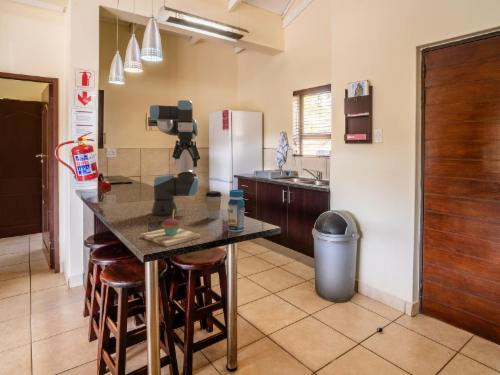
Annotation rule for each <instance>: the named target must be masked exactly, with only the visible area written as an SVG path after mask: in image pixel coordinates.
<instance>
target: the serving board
mask: <svg viewBox="0 0 500 375" xmlns="http://www.w3.org/2000/svg"><path fill="white" fill-rule="evenodd" d="M140 238H141V239H145V240H147V241H151V242H153V243H157V244H159V245H162V246H165V247H170V246H174V245H178V244H181V243H185V242H189V241H192V240H196V239H200V238H201V233H197V232H194V231H190V230H186V229H182V228H180V227H179V228H178V230H177V234H176V235H172V236H169V235H166V233H165V231H164V229H163V228H161V229H158V230H152V231H148V232H142V233H140Z"/></svg>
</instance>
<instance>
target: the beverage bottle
mask: <svg viewBox="0 0 500 375" xmlns="http://www.w3.org/2000/svg"><path fill="white" fill-rule="evenodd" d="M243 197H244V190H242V189H231V190H229V198H230V199H229V200H228V203H227V205H228V208H227V218H228V219H227V223H228V224H227V230H228V231H229V232H234V233H235V232H238V233H239V232H240V233H241V232H242V231H244V230H245V212H246V210H245V209H246V208H245V205H246V204H245V201H244V199H243Z"/></svg>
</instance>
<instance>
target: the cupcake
mask: <svg viewBox="0 0 500 375" xmlns="http://www.w3.org/2000/svg"><path fill="white" fill-rule="evenodd" d="M174 211H175V210H173V215H171V216H172V218H168V219H166V220H163V221H162V222H161V226H160V227H161V229H164V231H165V233H166V235H169V236H172V235H176V234H177V230H178V228H180V227H181V222H180V220H178V219H176V218H174V217H175V214H174Z"/></svg>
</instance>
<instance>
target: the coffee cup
mask: <svg viewBox="0 0 500 375" xmlns="http://www.w3.org/2000/svg"><path fill="white" fill-rule="evenodd" d="M222 196H223V195H222V192H221V191H217V190H215V191H213V190H212V191H207V192H206V194H205V197H206V206H207V208H206V209H207V212H208V213H207V214H208V219H211V220H216V219H219V218H220V213H221V212H220V211H221V204H222Z"/></svg>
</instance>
